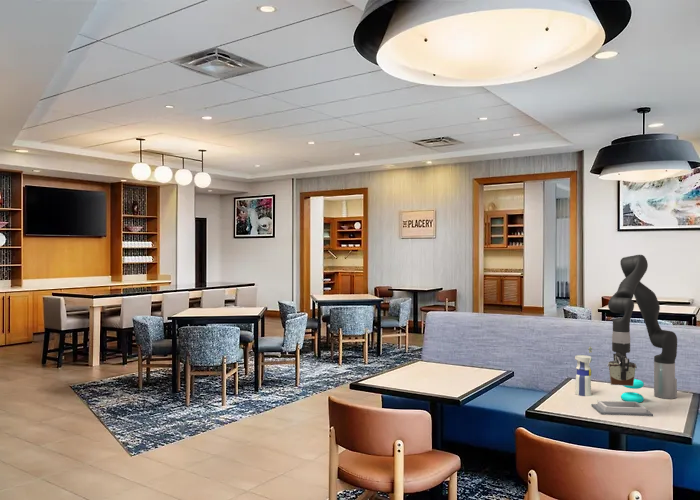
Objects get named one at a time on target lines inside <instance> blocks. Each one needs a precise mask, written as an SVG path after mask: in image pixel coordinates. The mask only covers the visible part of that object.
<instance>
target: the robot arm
mask: <svg viewBox="0 0 700 500" xmlns="http://www.w3.org/2000/svg"><path fill="white" fill-rule="evenodd" d="M620 269H621V270H622V273H623V275H624V278H623V279H622V281H621V282H620V284H619V285H618V289H617V291H616V292H615V293H614V294H613V295H612V296H611V297H610V298H609V300H608V305H607V307H608V309H609V310H608V311H610V312H611V313H613V314H623V316H622V317H617V318H613V320H612V334H611V341H612V343H611V351H612V353H613V352H614V353H613V354H612V356H613V357H612V358H613V361H615V363H618V364H619V367H620V371H621V380H626V372H627V371H629V362H630V358H628V356H627V354H630V353H631V331H630V330H631V329H630V327H631V326H630V323H631V318H632V314H633V311H634V308H635V302H634V300H633V298H634V299H635V301H636V304H637V306H638V309H639V311H640V313H641V316H642V318H643V319H642V320H643V321H644V324H645V327H646V331H647V334H648V339H649V341H650V343H651V344H652V346H653V347H654V348H657V349H661V353H660V354H656V355H654V357H653V374H654V375H653V396H654V397H656V398H659V399H677V398H678V395H677V394H678V383H677V381H678V379H677V378H676V359H677V354H678V337H677V334H676V333H675V332H674V331H671V330H666V329H662V328H661V327H660V323H659V321H658V317H659V314H660V310H661V309H660V308H661V307H660V303H659V300H658V298H657V295H656V294H655V292H654V291H653V290H651V289H650V288H649V287H648V286H647V285H645V284H644V283H643V282H641V280H642V279H643V277H644V275H645V274H646V273H647V270H648V260H647V258H646V256H645V255H643V254H635V255H631V256H624V257H621V259H620ZM621 364H622V365H621ZM624 367H625V369H624Z"/></svg>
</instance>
